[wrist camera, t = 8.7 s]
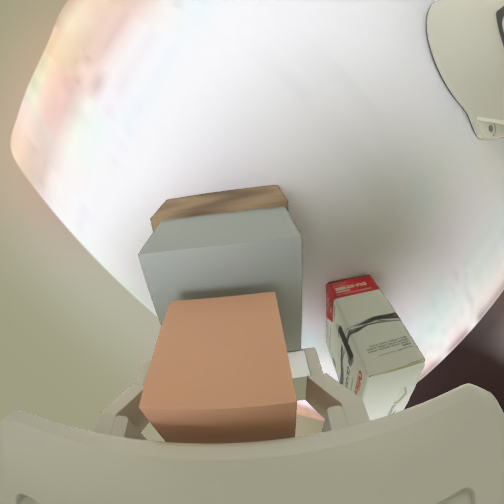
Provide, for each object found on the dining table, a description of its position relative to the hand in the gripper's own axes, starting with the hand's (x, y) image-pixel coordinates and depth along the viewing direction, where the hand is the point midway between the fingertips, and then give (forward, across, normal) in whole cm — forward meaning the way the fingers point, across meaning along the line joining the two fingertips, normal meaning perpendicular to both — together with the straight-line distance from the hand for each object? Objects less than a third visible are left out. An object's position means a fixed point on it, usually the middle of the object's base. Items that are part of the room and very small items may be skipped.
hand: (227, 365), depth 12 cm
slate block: (+8, 0, 0) cm, 8 cm away
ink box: (+13, -11, +9) cm, 20 cm away
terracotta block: (+2, 0, 0) cm, 2 cm away
